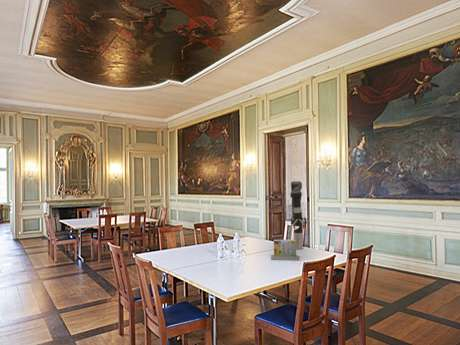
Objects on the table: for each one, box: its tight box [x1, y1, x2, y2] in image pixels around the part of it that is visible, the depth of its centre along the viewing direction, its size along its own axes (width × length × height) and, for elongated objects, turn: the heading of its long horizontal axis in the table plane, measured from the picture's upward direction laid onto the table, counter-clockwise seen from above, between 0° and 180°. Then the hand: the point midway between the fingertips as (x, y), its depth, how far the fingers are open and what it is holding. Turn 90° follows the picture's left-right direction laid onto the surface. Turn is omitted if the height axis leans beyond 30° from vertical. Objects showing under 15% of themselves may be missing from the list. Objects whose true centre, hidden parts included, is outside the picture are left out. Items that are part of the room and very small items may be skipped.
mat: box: [270, 255, 301, 261], centre depth 301 cm, size 16×26×1 cm, turn 81°
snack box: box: [273, 239, 297, 256], centre depth 313 cm, size 21×6×15 cm, turn 84°
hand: (299, 228), depth 306 cm, fingers open, 8 cm apart
